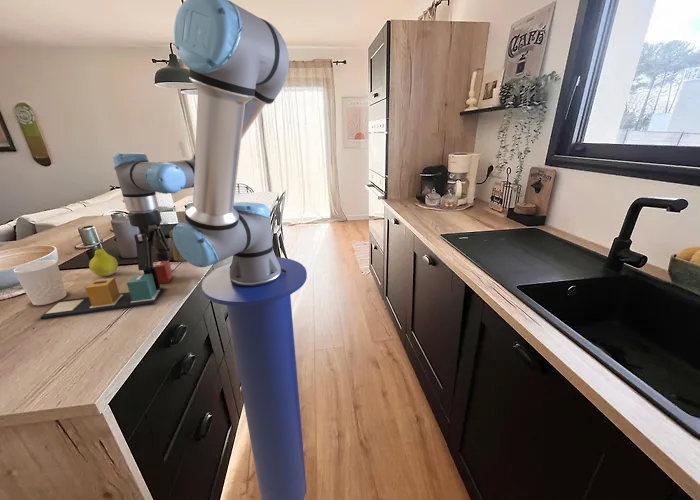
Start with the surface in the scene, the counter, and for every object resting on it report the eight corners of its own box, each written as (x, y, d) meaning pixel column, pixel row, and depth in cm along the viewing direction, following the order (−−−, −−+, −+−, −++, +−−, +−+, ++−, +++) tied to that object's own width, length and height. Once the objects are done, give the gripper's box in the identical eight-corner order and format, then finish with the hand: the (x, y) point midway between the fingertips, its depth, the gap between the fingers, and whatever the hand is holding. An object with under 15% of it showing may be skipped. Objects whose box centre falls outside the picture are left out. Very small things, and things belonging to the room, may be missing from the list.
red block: (172, 276, 91) (168, 259, 89) (168, 282, 87) (164, 265, 85) (156, 278, 90) (152, 261, 88) (151, 284, 86) (147, 267, 84)
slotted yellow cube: (120, 295, 78) (114, 276, 76) (112, 304, 74) (106, 284, 72) (100, 298, 77) (94, 279, 75) (92, 306, 73) (84, 286, 71)
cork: (170, 258, 104) (163, 229, 101) (187, 253, 109) (181, 226, 105) (178, 262, 101) (172, 232, 97) (195, 257, 106) (189, 228, 102)
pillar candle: (119, 253, 110) (107, 215, 104) (149, 247, 116) (139, 210, 110) (122, 260, 103) (110, 220, 98) (154, 253, 109) (144, 215, 104)
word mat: (163, 289, 83) (162, 287, 83) (154, 304, 76) (153, 301, 75) (61, 302, 76) (60, 300, 76) (41, 319, 69) (40, 316, 69)
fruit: (89, 281, 88) (76, 244, 83) (97, 272, 93) (85, 238, 89) (117, 277, 90) (105, 241, 86) (123, 269, 96) (112, 235, 92)
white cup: (61, 289, 83) (48, 257, 79) (75, 295, 80) (62, 262, 76) (23, 302, 76) (7, 268, 73) (36, 309, 73) (20, 274, 69)
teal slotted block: (156, 291, 81) (152, 272, 79) (151, 298, 77) (146, 279, 75) (138, 293, 80) (133, 274, 78) (132, 301, 76) (126, 282, 74)
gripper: (143, 202, 90) (158, 265, 98) (107, 222, 69) (131, 300, 77) (170, 201, 92) (183, 263, 100) (143, 220, 71) (163, 296, 79)
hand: (160, 279), depth 89 cm, fingers open, 11 cm apart
